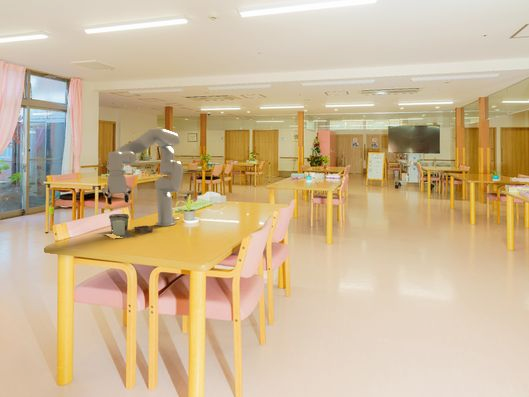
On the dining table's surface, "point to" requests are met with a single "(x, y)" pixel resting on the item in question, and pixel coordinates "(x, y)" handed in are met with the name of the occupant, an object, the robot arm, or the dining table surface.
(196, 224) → the dining table surface
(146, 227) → the walnut holder
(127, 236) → the charcoal mat
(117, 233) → the sage block
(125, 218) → the food container
